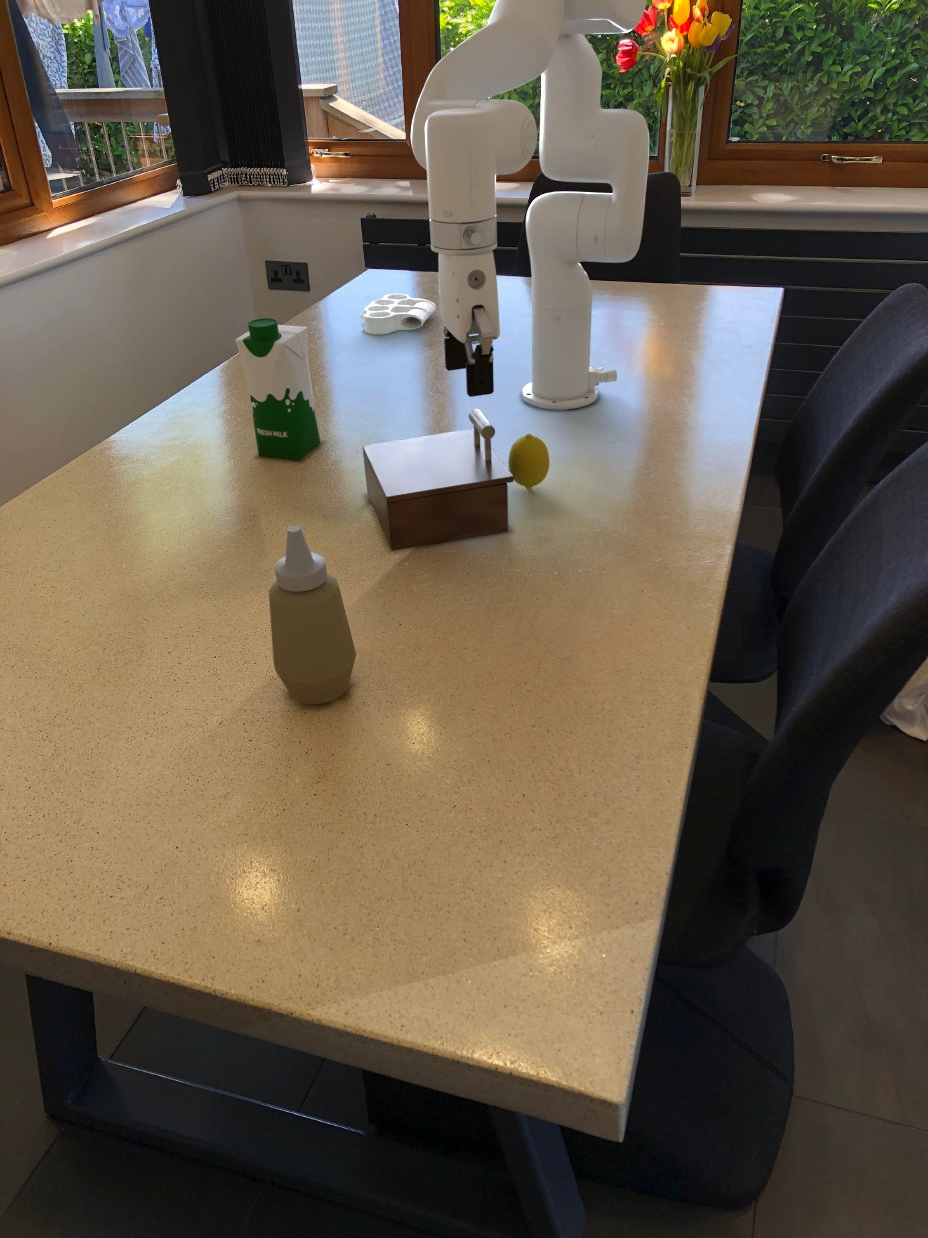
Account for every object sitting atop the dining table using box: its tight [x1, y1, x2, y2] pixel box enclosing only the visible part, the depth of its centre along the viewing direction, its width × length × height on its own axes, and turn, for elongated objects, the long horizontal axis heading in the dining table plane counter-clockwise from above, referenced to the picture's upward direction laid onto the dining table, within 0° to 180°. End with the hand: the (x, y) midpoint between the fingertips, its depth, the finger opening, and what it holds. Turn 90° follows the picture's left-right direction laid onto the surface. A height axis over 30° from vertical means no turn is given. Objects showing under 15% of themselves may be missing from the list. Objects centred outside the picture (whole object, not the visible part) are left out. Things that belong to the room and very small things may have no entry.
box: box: [362, 451, 509, 552], centre depth 120 cm, size 15×16×7 cm
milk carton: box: [234, 317, 322, 462], centre depth 136 cm, size 9×9×20 cm
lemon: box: [508, 433, 550, 490], centre depth 125 cm, size 6×6×8 cm
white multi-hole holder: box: [357, 293, 437, 336], centre depth 193 cm, size 3×18×15 cm
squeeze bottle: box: [268, 525, 357, 705], centre depth 87 cm, size 8×8×18 cm
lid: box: [362, 408, 515, 503], centre depth 117 cm, size 16×16×6 cm
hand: (468, 381), depth 114 cm, fingers open, 9 cm apart
